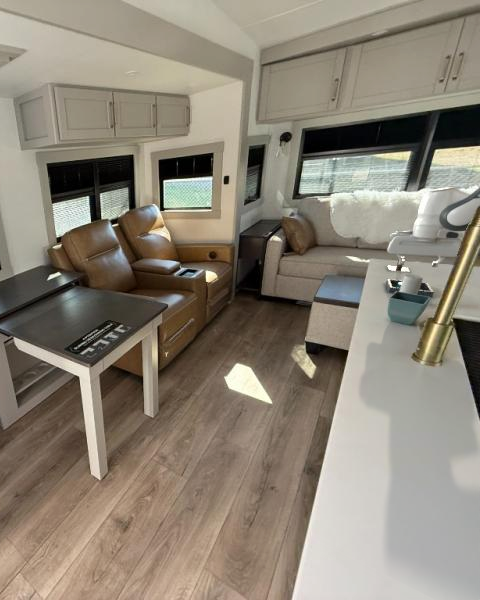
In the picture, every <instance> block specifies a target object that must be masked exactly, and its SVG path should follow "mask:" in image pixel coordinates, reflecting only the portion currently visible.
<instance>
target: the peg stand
mask: <svg viewBox="0 0 480 600" xmlns="http://www.w3.org/2000/svg"><path fill="white" fill-rule="evenodd" d="M401 259H402V260H405V261H406V257H405V256H402V257H401ZM387 268H388V270H389V271H396V272H407V273H410V272H411V271H410V269H409V267H406V266H404V265H399V259H398V260H397V263H396V266H393V265H387Z"/></svg>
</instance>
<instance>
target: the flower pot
mask: <svg viewBox="0 0 480 600" xmlns="http://www.w3.org/2000/svg"><path fill="white" fill-rule="evenodd" d="M431 299H432V298H431V297H427V296H422V295H416V294H410V293H404V292H399V291H396V292H395V293H392V294H391V295H390V296H389V297H388V301H387V302H388V303H387V309H386V312H387V316H388V318H389V320H390V321H391V322H395V323H400V324H404V325H409V326H410V325H413V324H414V323H415V322H416V321H418V319H419V318H420V317H421V315H422V314H424V312H425V310H426V309H427V307H428V305H429V303H430V301H431Z"/></svg>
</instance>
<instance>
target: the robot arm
mask: <svg viewBox="0 0 480 600" xmlns="http://www.w3.org/2000/svg"><path fill="white" fill-rule="evenodd" d="M479 205H480V186H479V187H477V188H476V189H475V190H474V191H473V192H472V193H466V192H465V191H462V190H460V189H459V188H457V187H455V186H454V187H453V186H450V187H449V186H448V187H442V188H435V189H432V190H430V191H428V192H427V193H426V194H424V196H423V197H422V200H421V202H420V205H419V208H418V211H417V219H416V220H415V222H414V223H413V227H412V230H396V231H394V232H392V233H391V234H389V244H388V246H387V249H386V252H387V253H388V254H390V255H396V256H397V258H398V260H399V265H403V266H405V263H406V259H405V260H402V259H401V257H404V255H407V256H423V257H424V256H426V257H427V256H428V257H438V259H437V260H436V261H432V263H431V265H430V266H431V268H438V267H439V264H440V263H442V262H443V261H445V259H446V258H457V254H458V251H459V248H460V245H461V241H463V240H462V238H463V236H464V233H463V232H466V231H467V230H466V228H467V226H468V224H469V223H470V222H471V219H472V217H473V215H474V212H475V210H476V209H477V207H478V206H479Z"/></svg>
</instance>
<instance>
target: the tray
mask: <svg viewBox="0 0 480 600" xmlns="http://www.w3.org/2000/svg"><path fill="white" fill-rule="evenodd" d="M398 282H403V279H395V278H394V279H393V278H386V282H385V287H386V291H387V293H388V294H394V293H395V292H396V291H400V288H397V284H398ZM434 294H435V291H434V290H433V288H432V287H431V285H430V283H429V282H424V281H422V283H421V285H420V289H419V291H418V293H417V295H422V296H427V297H431V299H432V298H433V296H434Z"/></svg>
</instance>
